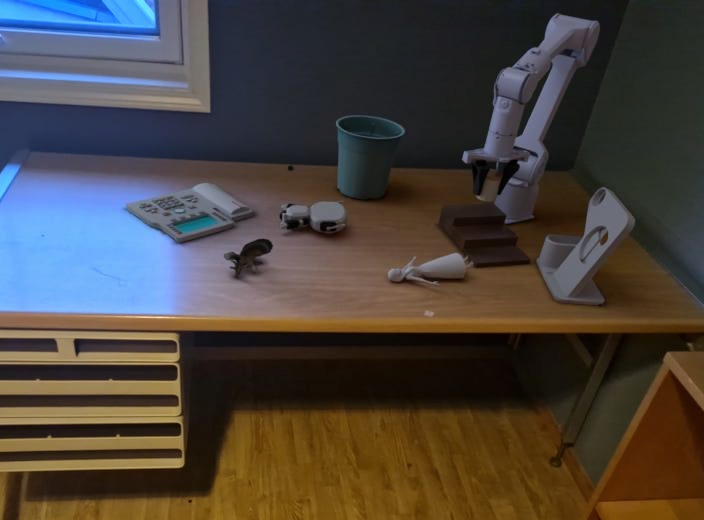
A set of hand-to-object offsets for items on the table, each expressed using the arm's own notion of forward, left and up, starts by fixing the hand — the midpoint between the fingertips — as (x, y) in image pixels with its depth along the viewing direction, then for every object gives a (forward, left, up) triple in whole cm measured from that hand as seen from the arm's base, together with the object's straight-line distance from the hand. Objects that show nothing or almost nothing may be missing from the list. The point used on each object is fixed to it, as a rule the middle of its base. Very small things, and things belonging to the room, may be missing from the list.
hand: (486, 193), depth 144 cm
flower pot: (+11, -31, -11) cm, 34 cm away
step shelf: (+1, +3, -10) cm, 11 cm away
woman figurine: (+22, +10, -11) cm, 26 cm away
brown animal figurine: (+54, -6, -11) cm, 56 cm away
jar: (0, 0, -1) cm, 1 cm away
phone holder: (-5, +23, -11) cm, 26 cm away
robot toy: (+33, -18, -11) cm, 39 cm away
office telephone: (+55, -33, -11) cm, 65 cm away
